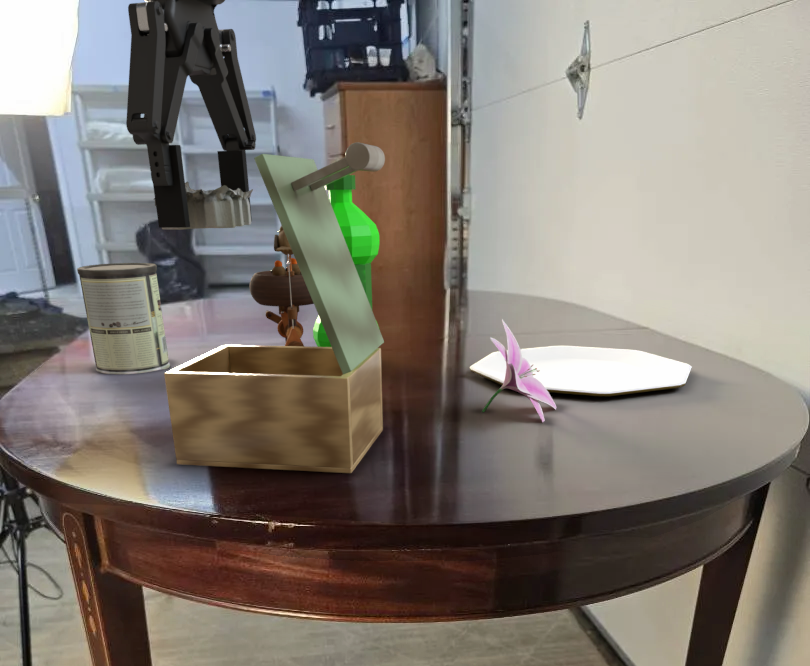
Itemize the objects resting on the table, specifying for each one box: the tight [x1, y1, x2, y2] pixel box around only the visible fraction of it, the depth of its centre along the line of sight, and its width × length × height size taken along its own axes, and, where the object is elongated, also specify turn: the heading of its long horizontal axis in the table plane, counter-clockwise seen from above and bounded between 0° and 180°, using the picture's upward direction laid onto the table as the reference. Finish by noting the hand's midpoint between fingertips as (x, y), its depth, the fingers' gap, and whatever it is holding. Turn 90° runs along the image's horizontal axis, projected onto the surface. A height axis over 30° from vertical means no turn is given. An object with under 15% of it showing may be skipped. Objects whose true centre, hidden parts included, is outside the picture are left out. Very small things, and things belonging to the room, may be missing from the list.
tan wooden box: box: [163, 344, 384, 474], centre depth 74 cm, size 17×14×9 cm
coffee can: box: [76, 262, 171, 375], centre depth 108 cm, size 10×10×14 cm
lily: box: [481, 319, 557, 423], centre depth 84 cm, size 12×12×10 cm
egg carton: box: [153, 181, 254, 231], centre depth 73 cm, size 11×8×4 cm
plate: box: [469, 345, 693, 397], centre depth 103 cm, size 28×28×2 cm
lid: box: [253, 141, 386, 374], centre depth 67 cm, size 18×14×8 cm
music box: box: [249, 225, 314, 346], centre depth 97 cm, size 15×11×20 cm
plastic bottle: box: [312, 174, 381, 347], centre depth 111 cm, size 10×10×25 cm
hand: (208, 224), depth 74 cm, fingers closed on egg carton, 11 cm apart
